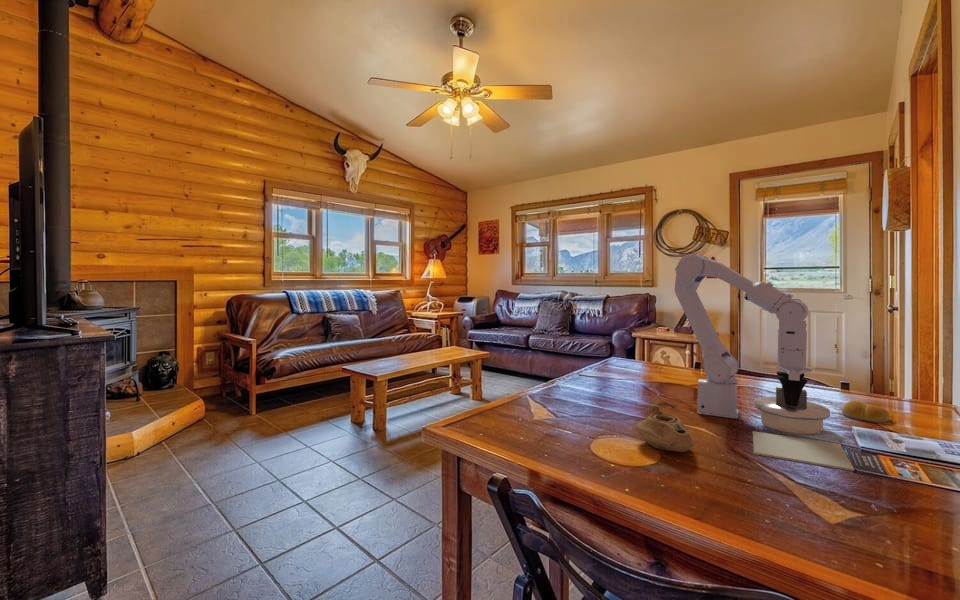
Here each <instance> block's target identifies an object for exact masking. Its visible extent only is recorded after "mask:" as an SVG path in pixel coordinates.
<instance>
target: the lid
mask: <svg viewBox="0 0 960 600" xmlns="http://www.w3.org/2000/svg"><path fill="white" fill-rule="evenodd" d="M807 399H808V392H807V390H806V389H802V392H801V395H800V399H799V402H798V405H797V407H795V406H787V405H786V402H785V397H784V391H783V388H782V387H777V386H776V387H775V397H774V396H773V397H768V396H767V397H761V398H756V399H755V400H754V407H755V408H756V409H757V410H759V411H760V412H761V411H763V412H766V413H769V414H772V415H776V416H781V417H786V418H793V419H803V420H821V419H823V420H826V419H828V418H831V417H830V416H831V410H830V409H829V407H826V406H824V405H821V404H818V403H816V402H811V401H807Z"/></svg>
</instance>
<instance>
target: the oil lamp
mask: <svg viewBox="0 0 960 600" xmlns="http://www.w3.org/2000/svg"><path fill="white" fill-rule="evenodd" d="M635 429H636V432H637V433H638V434H639V436H641V438H643V439H644V440H645V441H646V442H647V444H648V445H649V446H652V447H653V448H656V449H658V450H661V451H662V450H663V451H665V452H666V451H667V452H668V451H669V452H672V451H673V452H678V453H679V452H680V453H682V452H683V453H684V452H687V451H690V450H691V449H692V447H693V446H694V442H693V438H692V433H691V432H690V430H689V429H688V428H687V427H686V426H685V424H684V423H683V421H682V420H681V419H680V418H679V417H678V416H675V415H673V414H671V413H664V412H663V411H662V410H661V409H660V406H659V405H658V404H655V403H654V404H652V405H650V406H649V407H648V413H647V416H646V418H645V419H643V420H642V421H640V422H638V423H637V424H636V428H635Z"/></svg>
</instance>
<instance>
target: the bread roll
mask: <svg viewBox="0 0 960 600" xmlns="http://www.w3.org/2000/svg"><path fill="white" fill-rule="evenodd" d="M841 408H842V409H841V413H842V415H844V416H845V417H848V418H851V419H854V420H859V421H861V420H863V421H865V422H872V423H884V422H889V420H890V413H889V412H888V410H887V409H885V408H884V407H883V406H880V405H875V404H866V403H863V402H861V401H856V400H851V401H848V402H845V404H844V405H843V406H842V407H841Z"/></svg>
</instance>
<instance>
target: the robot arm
mask: <svg viewBox="0 0 960 600" xmlns="http://www.w3.org/2000/svg"><path fill="white" fill-rule="evenodd" d="M674 270H675V282H674V294H675V296H676V297H677V299H678V302H679V304H680V305H681V308H682V310H683V313H684V315H685V316H686V319H687V321H688V323H689V325H690V327H691V329H692V332H693V333H694V336H695V338H696V339H697V342H698V344H699V346H700V348H701V351H702V352H701V353H702V354H701V357H702V360H703V363H704V374H705V376H706V378H699V379H698V383H697V399H696V405H697V414H700V415H706V416H714V417H721V418H727V419H736V420H738V419H739V410H740V409H738V407H737V405H738V380H737V378H736V376H735V375H736V374H737V373H738V371H739V367H740V365H739V361H738V360H737V359H736V358H735V357H734V356H733V355H732V354H731V353H730V351H729V350H728V348H727V347H726V346H725V345H724V344H723V343H722V341H721V339H720V337H719V335H718V332H717V331H716V329H715V327H714V324H713V323H712V321H711V319H710V317H709V314H708V312H707V311H706V309H705V306H704V303H703V302H702V300H701V299H700V297H699V294H698V292H697V291H698V288H699V287H700V284H701V282H702V281H703V280H704V279H705V278H706V277H707V278H717V279H719V280H722V281H723V282H725V283H727V284H728V285H731V286H732V287H734V288H737V289H738V290H740V291H741V292H743V293H745V294H746V297H747V301H749V302H751V303H753V304H754V305H756V306H758V308H759V307H760V308H761V309H762V310H765V311H767V312H768V313H770V314H772V315H773V314H775V316H776V318H777V319H778V329H777V357H776V358H777V360H776V362H777V364H776V365H775V368H776V369H777V370H778V371H776V374H777V379H778V380H779V382H780V384H781V388H783V391H784V397H785V402H786V405H787V406H795V407H797V405H798V402H799V399H800V395H801V392H802V390H804V387H805V386H806V384H807V383H808V379H807V378H804V377H805V373H806V372H813V368H812V367H810V366H807V350H808V349H807V347H808V346H807V343H808V342H807V341H808V340H807V339H808V331H807V320H806V319H807V317H808V315H809V308H808V306H807V304H806V303H805V302H803V301H802V300H801V299H800V298H793V295H792V294H791V293H787V294H786V293H785V292H783V291H781V290H779V288H778V289H777V288H775V287H774V286H775V284H774V283H772V282H770V281H768V282H765V281H757V282H754V281H752V280H750V279H749V278H747V277H746V276H744V275H742V274H740V273H739V272H737V271H735V270H734V269H732V268H730V267H729V266H727V265H726V264H724V263H723V262H720V261H717V260H715V259H713V258H709V257H708V256H706V255H704V254H700V255H699V254H697V255H696V254H693V253H690V254H686V255H683V256H682V257H681V258H680V260H679V261H678V263H677V265H676V266H675V268H674Z"/></svg>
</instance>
